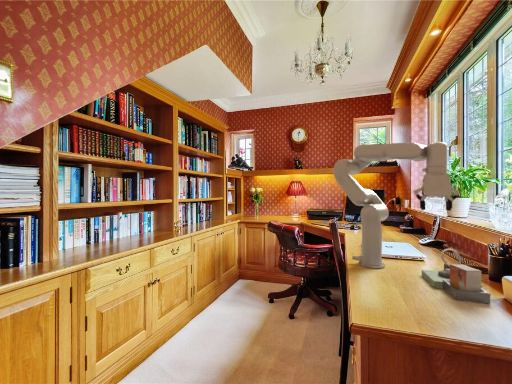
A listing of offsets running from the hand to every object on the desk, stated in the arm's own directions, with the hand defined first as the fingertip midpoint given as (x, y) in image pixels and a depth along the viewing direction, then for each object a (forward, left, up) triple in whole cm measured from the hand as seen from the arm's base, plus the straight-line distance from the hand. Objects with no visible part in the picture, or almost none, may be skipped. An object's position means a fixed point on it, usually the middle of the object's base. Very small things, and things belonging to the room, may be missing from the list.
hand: (435, 210), depth 115 cm
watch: (+11, +14, -31) cm, 35 cm away
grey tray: (+4, -18, -30) cm, 35 cm away
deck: (+4, -4, -30) cm, 31 cm away
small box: (+4, -18, -31) cm, 36 cm away
